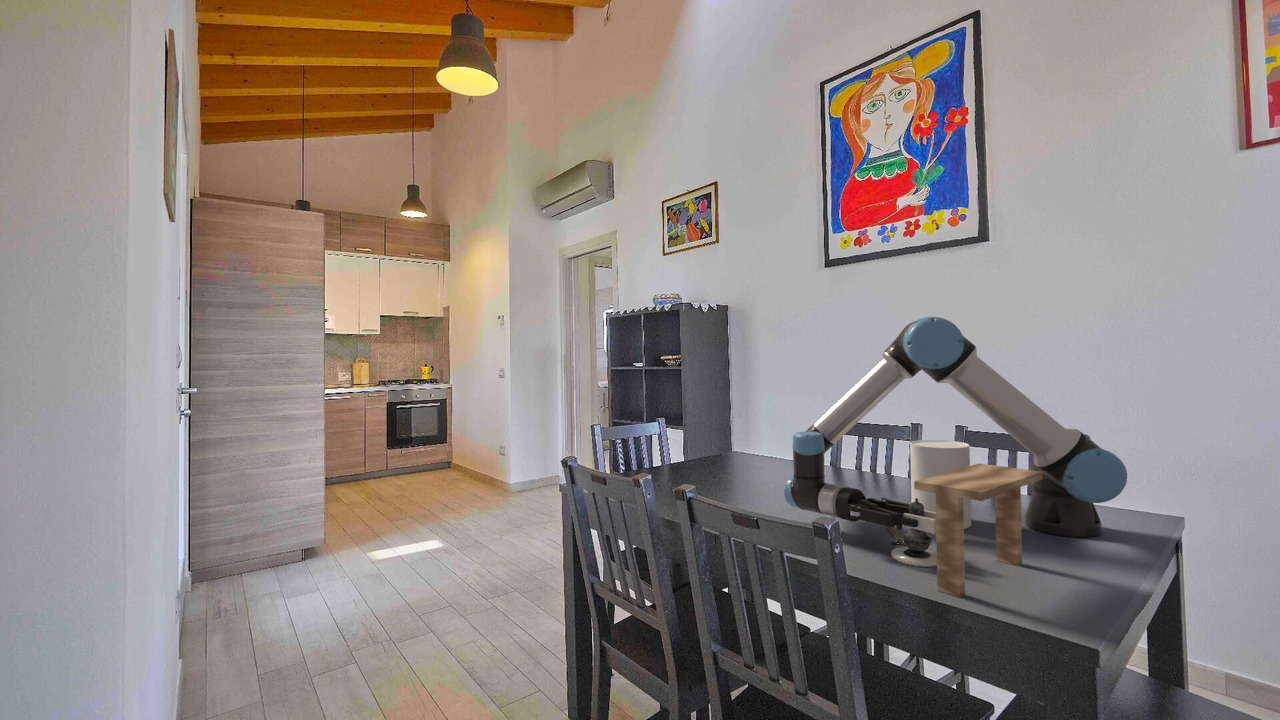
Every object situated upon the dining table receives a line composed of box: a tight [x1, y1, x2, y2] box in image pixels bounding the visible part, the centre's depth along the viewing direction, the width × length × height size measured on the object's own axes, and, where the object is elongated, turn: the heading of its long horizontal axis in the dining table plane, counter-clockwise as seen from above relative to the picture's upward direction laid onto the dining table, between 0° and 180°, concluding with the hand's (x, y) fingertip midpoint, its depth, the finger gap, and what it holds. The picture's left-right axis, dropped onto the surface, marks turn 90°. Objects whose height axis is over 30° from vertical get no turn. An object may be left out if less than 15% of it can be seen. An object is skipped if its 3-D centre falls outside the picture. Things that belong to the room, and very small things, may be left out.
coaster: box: [890, 546, 937, 568], centre depth 125 cm, size 10×10×1 cm
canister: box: [909, 439, 972, 530], centre depth 150 cm, size 14×14×20 cm
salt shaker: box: [901, 498, 933, 558], centre depth 125 cm, size 6×6×12 cm
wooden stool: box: [914, 463, 1043, 598], centre depth 114 cm, size 12×26×20 cm, turn 126°
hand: (941, 524), depth 120 cm, fingers open, 4 cm apart
